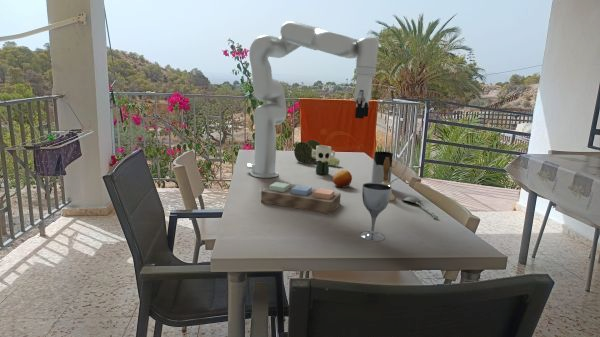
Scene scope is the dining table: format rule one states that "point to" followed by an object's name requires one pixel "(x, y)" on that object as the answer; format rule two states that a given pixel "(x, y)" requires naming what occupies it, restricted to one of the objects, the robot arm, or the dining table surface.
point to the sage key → (279, 187)
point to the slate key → (301, 190)
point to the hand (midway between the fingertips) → (361, 117)
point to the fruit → (342, 178)
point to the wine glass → (375, 205)
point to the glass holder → (378, 167)
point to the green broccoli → (310, 152)
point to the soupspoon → (417, 201)
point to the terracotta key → (324, 193)
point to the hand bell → (386, 169)
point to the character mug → (323, 158)
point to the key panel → (301, 200)
